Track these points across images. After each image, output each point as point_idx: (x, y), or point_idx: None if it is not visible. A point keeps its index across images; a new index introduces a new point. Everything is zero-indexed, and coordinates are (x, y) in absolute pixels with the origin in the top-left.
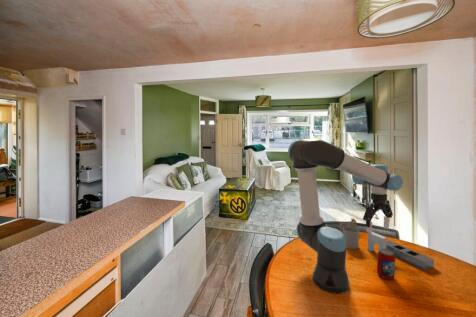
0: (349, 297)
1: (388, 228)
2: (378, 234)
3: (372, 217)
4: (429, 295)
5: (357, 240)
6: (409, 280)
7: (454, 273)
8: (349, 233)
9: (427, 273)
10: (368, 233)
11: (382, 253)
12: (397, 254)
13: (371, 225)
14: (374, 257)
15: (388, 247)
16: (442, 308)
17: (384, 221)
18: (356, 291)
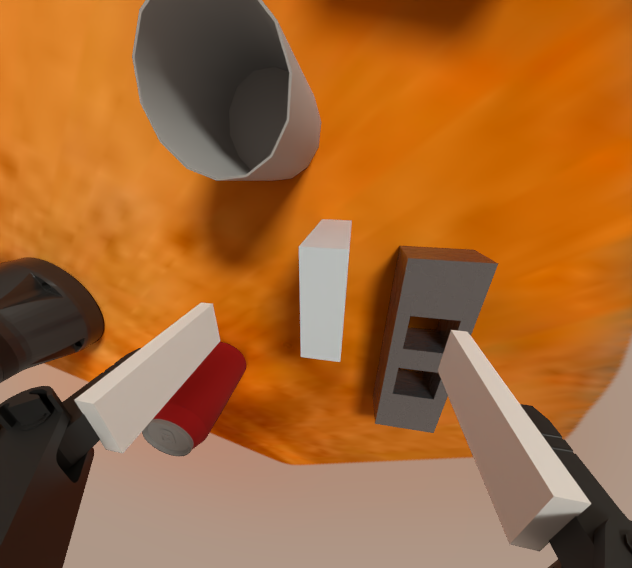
0: (87, 355)
1: (444, 376)
2: (341, 310)
3: (61, 541)
4: (263, 426)
5: (269, 178)
6: (274, 391)
7: (436, 436)
8: (173, 145)
9: (360, 403)
10: (300, 248)
11: (145, 431)
12: (387, 328)
13: (161, 402)
14: (290, 280)
15: (397, 296)
16: (249, 443)
17: (485, 401)
18: (111, 352)
